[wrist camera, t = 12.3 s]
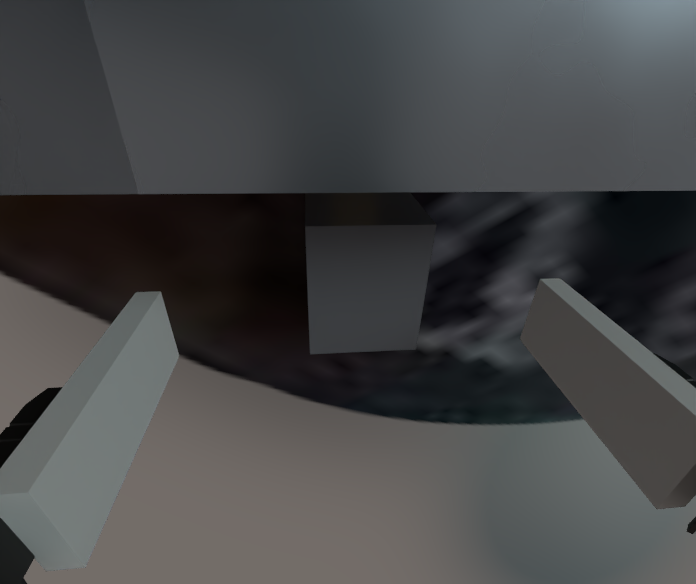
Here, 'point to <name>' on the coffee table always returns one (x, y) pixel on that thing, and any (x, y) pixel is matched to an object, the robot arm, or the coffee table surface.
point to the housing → (346, 96)
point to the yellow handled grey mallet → (366, 270)
